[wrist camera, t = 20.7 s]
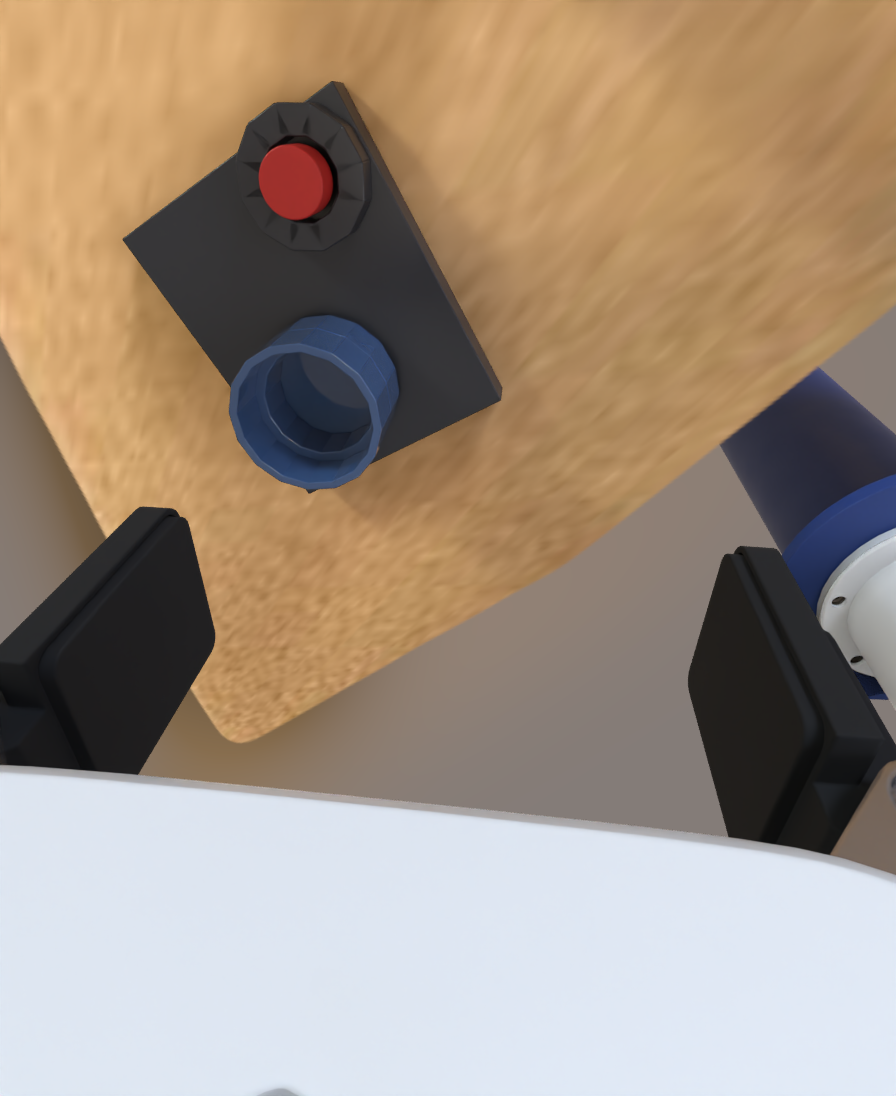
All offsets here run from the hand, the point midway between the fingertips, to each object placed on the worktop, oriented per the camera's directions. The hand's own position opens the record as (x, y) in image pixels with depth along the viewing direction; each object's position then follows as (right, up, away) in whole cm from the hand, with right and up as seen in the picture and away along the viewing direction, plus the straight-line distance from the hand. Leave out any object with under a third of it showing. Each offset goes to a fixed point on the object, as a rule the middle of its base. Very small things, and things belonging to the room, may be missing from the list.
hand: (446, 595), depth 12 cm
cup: (-6, +10, +24) cm, 26 cm away
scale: (-6, +13, +24) cm, 28 cm away
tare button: (-6, +17, +17) cm, 25 cm away
